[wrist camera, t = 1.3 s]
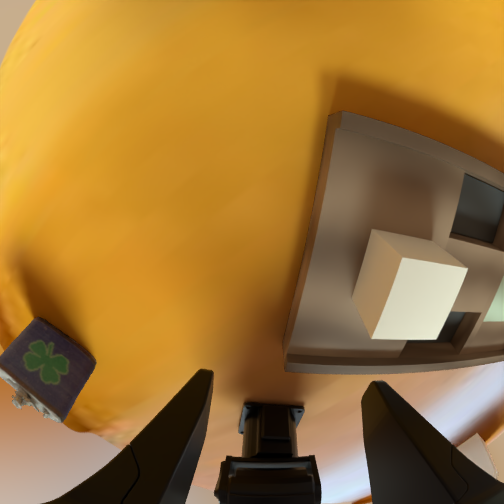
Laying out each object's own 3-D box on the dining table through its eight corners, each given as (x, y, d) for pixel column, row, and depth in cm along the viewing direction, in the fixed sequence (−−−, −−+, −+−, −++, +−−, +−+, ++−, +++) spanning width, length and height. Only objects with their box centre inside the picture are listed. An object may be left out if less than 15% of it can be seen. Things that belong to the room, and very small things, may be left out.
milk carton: (423, 480, 43) (440, 549, 20) (404, 477, 40) (422, 560, 16) (484, 441, 37) (511, 510, 14) (477, 432, 34) (510, 515, 11)
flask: (34, 324, 25) (-15, 381, 15) (36, 309, 24) (-19, 368, 14) (94, 370, 26) (56, 440, 17) (100, 357, 26) (57, 432, 16)
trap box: (494, 343, 23) (507, 360, 20) (282, 342, 23) (284, 371, 20) (547, 206, 17) (567, 216, 13) (328, 115, 16) (342, 110, 13)
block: (409, 303, 18) (436, 339, 14) (351, 297, 18) (371, 338, 14) (431, 240, 17) (468, 268, 12) (371, 228, 16) (402, 257, 12)
